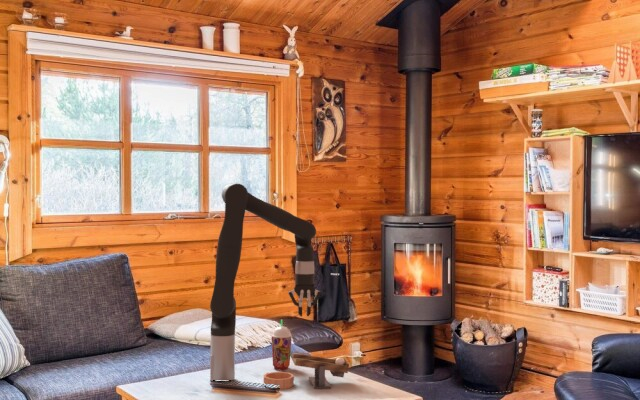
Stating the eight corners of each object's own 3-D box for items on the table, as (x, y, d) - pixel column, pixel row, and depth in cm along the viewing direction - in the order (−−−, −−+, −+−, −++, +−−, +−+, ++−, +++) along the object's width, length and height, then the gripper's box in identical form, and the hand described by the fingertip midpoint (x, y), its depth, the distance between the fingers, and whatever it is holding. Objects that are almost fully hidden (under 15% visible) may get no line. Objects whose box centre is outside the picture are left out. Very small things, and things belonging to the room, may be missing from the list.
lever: (293, 370, 265) (296, 356, 265) (288, 360, 282) (291, 346, 282) (346, 378, 268) (349, 364, 268) (338, 367, 285) (340, 354, 285)
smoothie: (282, 372, 288) (282, 322, 288) (266, 368, 293) (267, 319, 293) (295, 368, 294) (296, 319, 294) (280, 365, 300) (280, 317, 299)
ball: (334, 365, 270) (338, 357, 270) (333, 363, 273) (337, 355, 273) (343, 369, 270) (346, 360, 270) (341, 367, 274) (345, 358, 274)
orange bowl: (264, 389, 262) (264, 379, 262) (262, 381, 273) (262, 372, 273) (294, 388, 264) (294, 379, 264) (291, 380, 275) (291, 371, 275)
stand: (314, 389, 263) (314, 367, 263) (309, 379, 277) (309, 358, 277) (330, 388, 264) (330, 366, 264) (324, 378, 278) (324, 358, 278)
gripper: (288, 273, 280) (288, 318, 280) (323, 273, 282) (323, 317, 282) (286, 271, 287) (286, 314, 287) (320, 271, 289) (320, 314, 290)
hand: (304, 315), depth 285 cm, fingers closed
